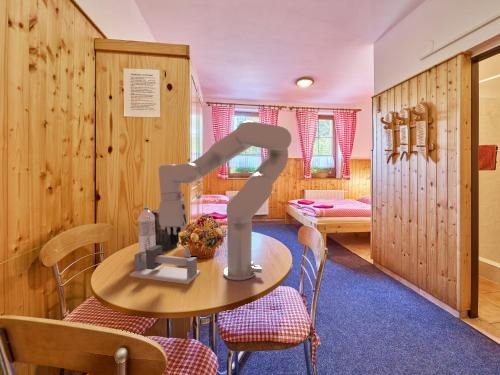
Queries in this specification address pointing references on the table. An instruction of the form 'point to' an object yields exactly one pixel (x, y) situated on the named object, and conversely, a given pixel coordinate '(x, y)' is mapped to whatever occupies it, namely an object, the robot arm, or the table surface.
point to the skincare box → (187, 251)
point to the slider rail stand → (166, 269)
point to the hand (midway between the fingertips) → (174, 243)
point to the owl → (162, 234)
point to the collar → (153, 257)
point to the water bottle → (146, 230)
